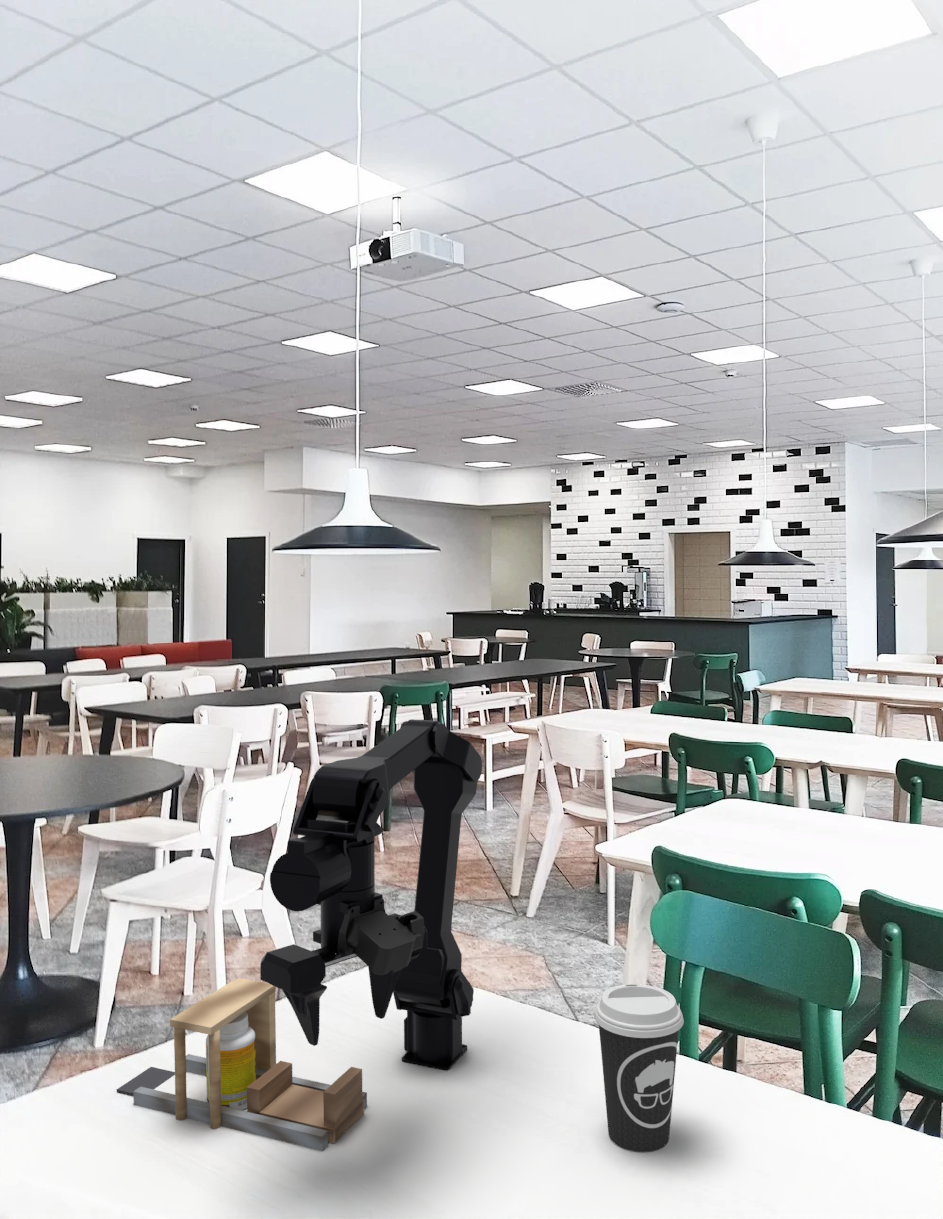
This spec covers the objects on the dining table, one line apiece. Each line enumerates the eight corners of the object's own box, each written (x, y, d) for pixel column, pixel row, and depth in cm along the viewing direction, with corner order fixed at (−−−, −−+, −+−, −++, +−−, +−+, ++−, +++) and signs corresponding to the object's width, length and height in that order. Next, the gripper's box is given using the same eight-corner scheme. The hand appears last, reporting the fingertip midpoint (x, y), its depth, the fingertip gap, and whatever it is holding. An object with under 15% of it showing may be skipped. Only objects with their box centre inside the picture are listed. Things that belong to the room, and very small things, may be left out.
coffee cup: (689, 1120, 113) (689, 987, 113) (677, 1167, 104) (677, 1023, 104) (604, 1106, 117) (603, 976, 116) (585, 1151, 108) (585, 1010, 107)
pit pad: (177, 1074, 125) (177, 1072, 125) (143, 1098, 119) (143, 1095, 119) (151, 1068, 126) (151, 1066, 126) (116, 1091, 121) (116, 1089, 121)
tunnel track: (372, 1102, 118) (371, 1001, 117) (315, 1159, 106) (313, 1048, 106) (195, 1063, 127) (193, 970, 127) (125, 1112, 116) (123, 1009, 116)
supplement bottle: (265, 1104, 117) (263, 1017, 117) (220, 1121, 114) (218, 1031, 114) (242, 1086, 122) (241, 1001, 121) (198, 1101, 118) (197, 1014, 118)
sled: (364, 1113, 115) (363, 1067, 115) (333, 1143, 109) (333, 1095, 109) (280, 1094, 119) (280, 1050, 119) (247, 1122, 113) (246, 1076, 113)
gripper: (326, 921, 96) (326, 1086, 96) (463, 881, 110) (462, 1025, 110) (257, 897, 104) (257, 1050, 104) (393, 862, 117) (392, 997, 118)
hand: (347, 1030), depth 109 cm, fingers open, 9 cm apart
